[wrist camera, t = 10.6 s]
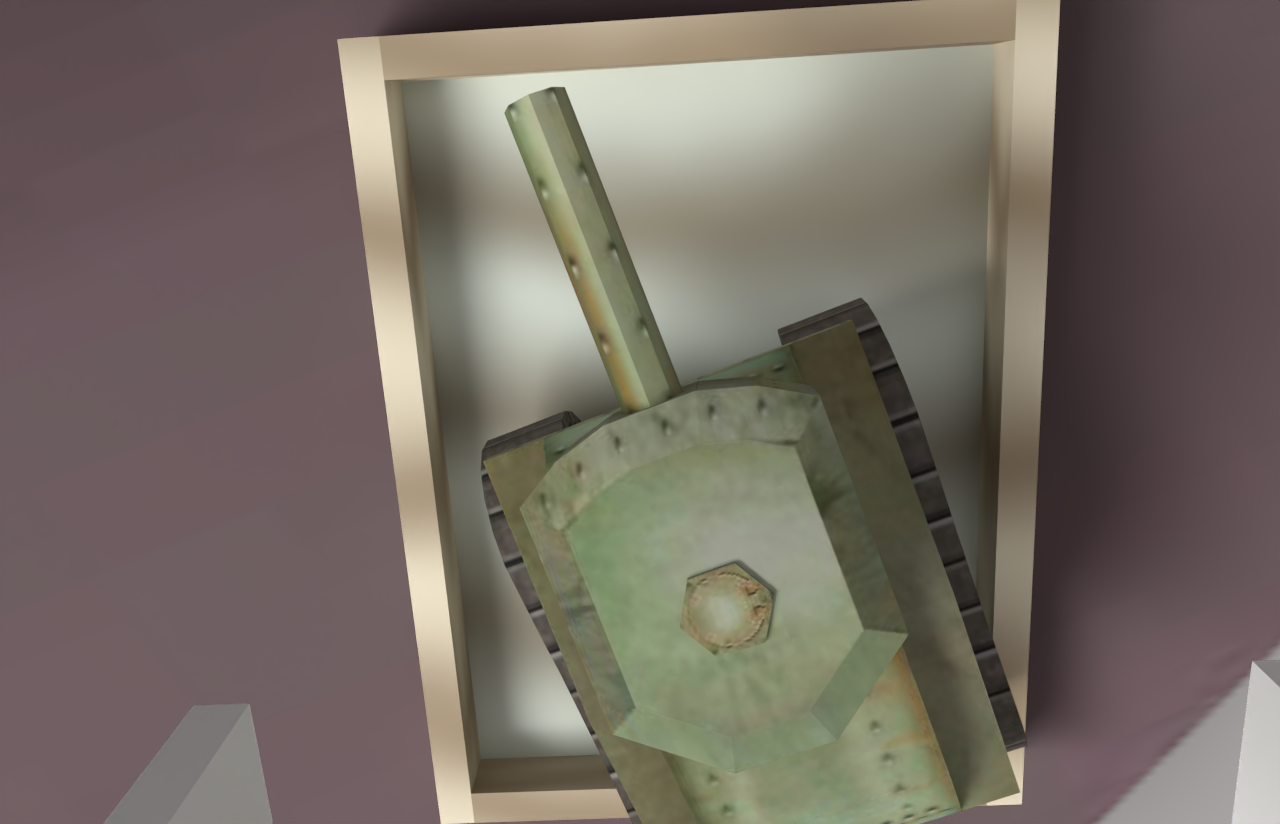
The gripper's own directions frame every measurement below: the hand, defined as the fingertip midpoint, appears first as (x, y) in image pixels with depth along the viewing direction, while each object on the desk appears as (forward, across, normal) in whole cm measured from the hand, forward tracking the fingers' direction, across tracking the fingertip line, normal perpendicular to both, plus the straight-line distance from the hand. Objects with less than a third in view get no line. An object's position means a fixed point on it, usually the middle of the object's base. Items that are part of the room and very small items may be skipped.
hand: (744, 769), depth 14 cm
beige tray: (+17, 0, -1) cm, 17 cm away
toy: (+16, 0, -2) cm, 16 cm away
